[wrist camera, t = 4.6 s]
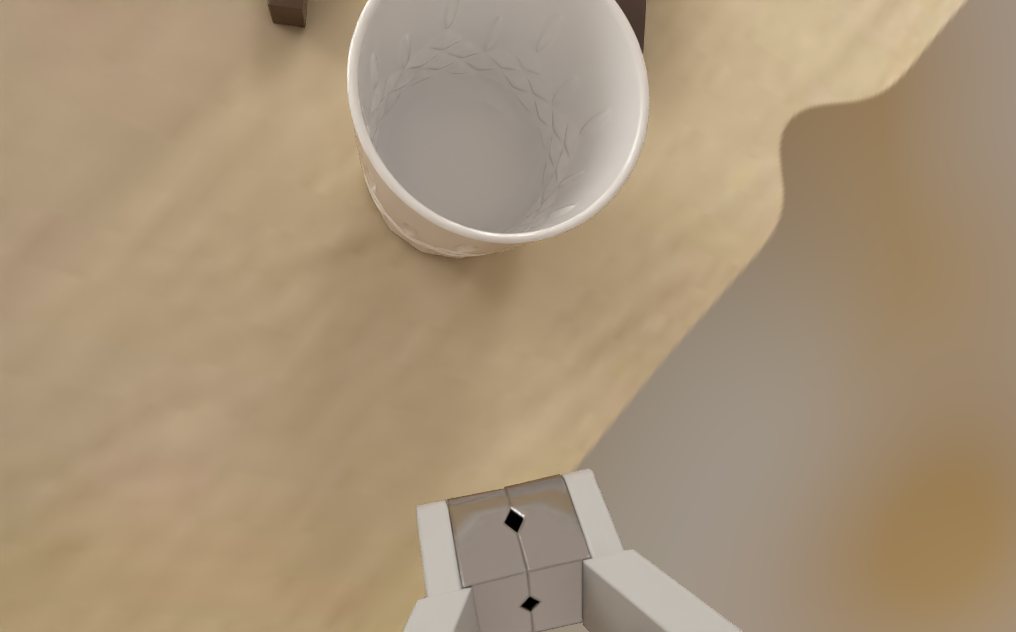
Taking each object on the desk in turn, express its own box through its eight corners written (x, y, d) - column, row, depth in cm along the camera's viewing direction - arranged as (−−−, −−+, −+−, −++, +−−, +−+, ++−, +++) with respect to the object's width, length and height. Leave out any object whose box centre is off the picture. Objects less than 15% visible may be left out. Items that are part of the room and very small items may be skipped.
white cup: (583, 156, 28) (703, 66, 18) (477, 312, 27) (544, 304, 17) (427, 36, 27) (467, -132, 17) (309, 194, 26) (279, 112, 16)
